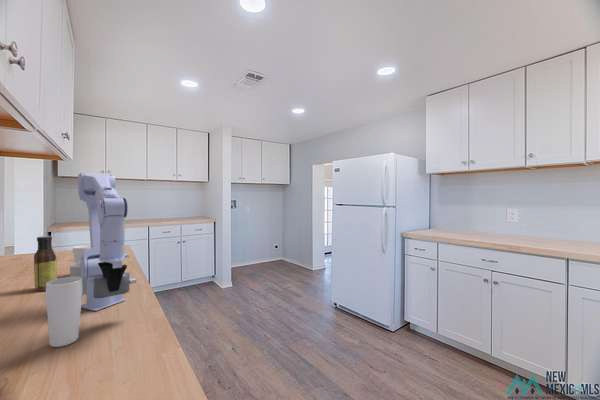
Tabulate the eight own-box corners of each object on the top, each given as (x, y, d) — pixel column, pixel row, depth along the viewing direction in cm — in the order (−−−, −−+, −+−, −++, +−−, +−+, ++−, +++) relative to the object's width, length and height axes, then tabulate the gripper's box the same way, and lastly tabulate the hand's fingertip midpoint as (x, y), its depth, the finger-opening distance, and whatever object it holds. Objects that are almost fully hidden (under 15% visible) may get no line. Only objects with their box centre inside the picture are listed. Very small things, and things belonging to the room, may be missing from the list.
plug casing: (133, 287, 82) (133, 270, 82) (137, 290, 79) (137, 273, 79) (92, 295, 75) (92, 277, 75) (94, 299, 72) (94, 280, 72)
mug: (65, 292, 99) (65, 264, 99) (94, 284, 108) (94, 259, 108) (80, 297, 94) (80, 268, 94) (109, 289, 103) (110, 263, 103)
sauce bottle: (61, 286, 105) (61, 235, 105) (47, 291, 99) (47, 237, 99) (44, 286, 105) (44, 235, 105) (28, 291, 99) (28, 237, 99)
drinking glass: (44, 341, 66) (45, 280, 66) (80, 332, 70) (80, 274, 70) (45, 353, 61) (46, 287, 61) (84, 342, 66) (84, 280, 66)
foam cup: (81, 272, 124) (81, 244, 123) (103, 272, 125) (104, 244, 125) (67, 279, 114) (67, 248, 114) (92, 278, 116) (92, 248, 116)
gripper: (135, 242, 74) (134, 292, 74) (123, 236, 84) (123, 279, 84) (103, 245, 69) (103, 298, 69) (95, 238, 79) (94, 284, 80)
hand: (112, 288), depth 76 cm, fingers closed on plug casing, 4 cm apart
